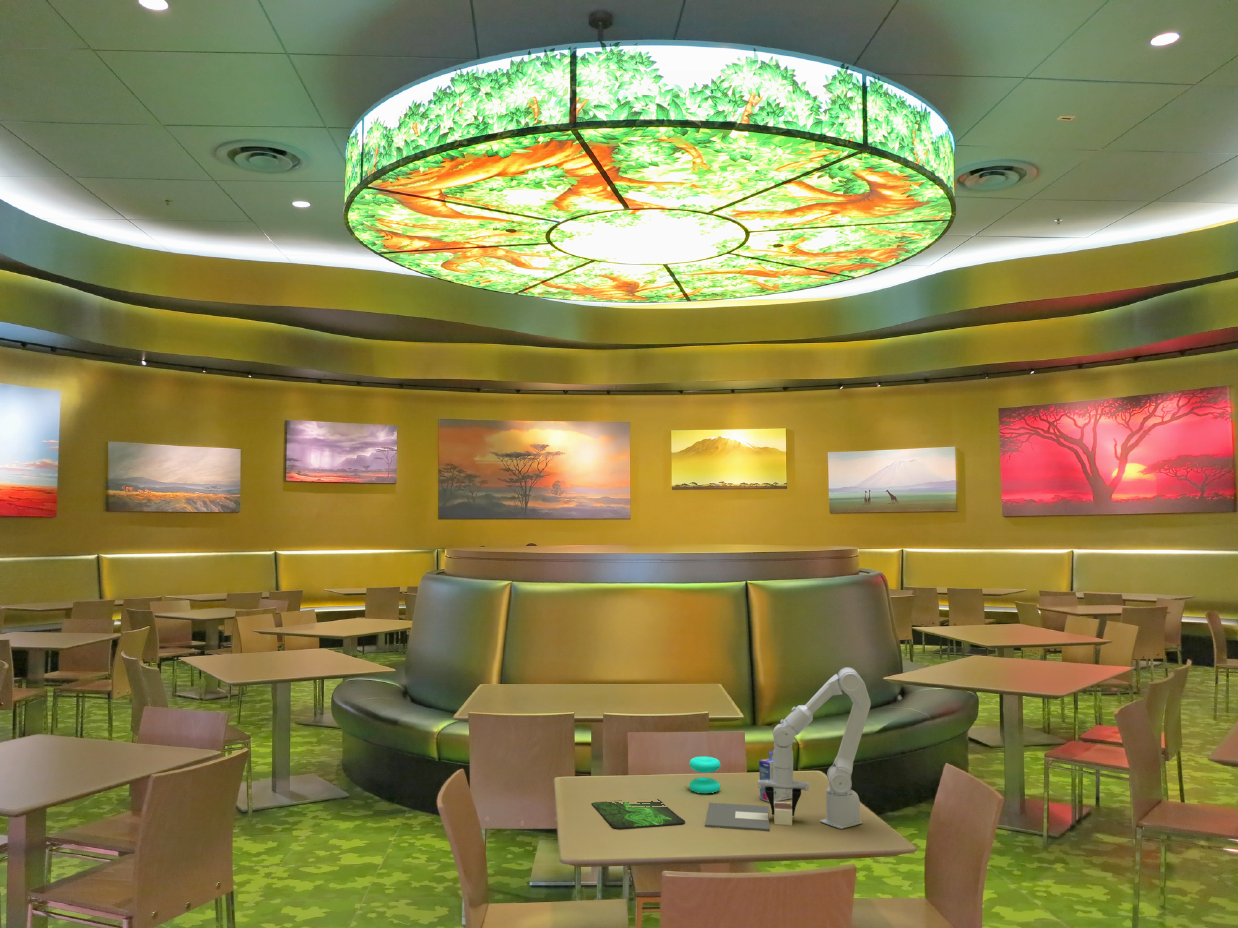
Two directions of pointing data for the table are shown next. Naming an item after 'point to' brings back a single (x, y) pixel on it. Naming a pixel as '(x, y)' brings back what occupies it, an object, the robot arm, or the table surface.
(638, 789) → the table surface
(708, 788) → the donuts
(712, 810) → the mat
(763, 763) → the ink cartridge box
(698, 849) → the table surface
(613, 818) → the mouse mat
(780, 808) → the card deck
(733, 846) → the table surface
